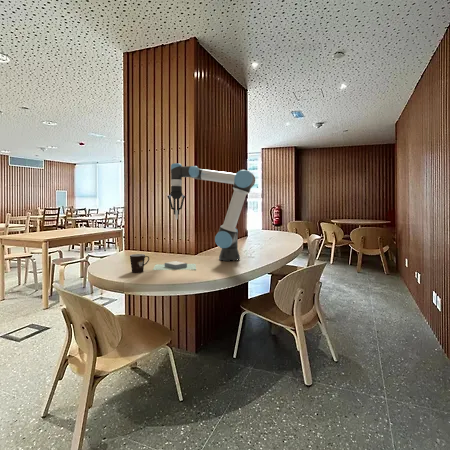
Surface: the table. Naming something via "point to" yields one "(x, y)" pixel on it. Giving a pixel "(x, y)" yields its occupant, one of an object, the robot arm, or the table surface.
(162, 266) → the mat
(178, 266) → the slate picture frame
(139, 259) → the coffee mug
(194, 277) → the table surface
